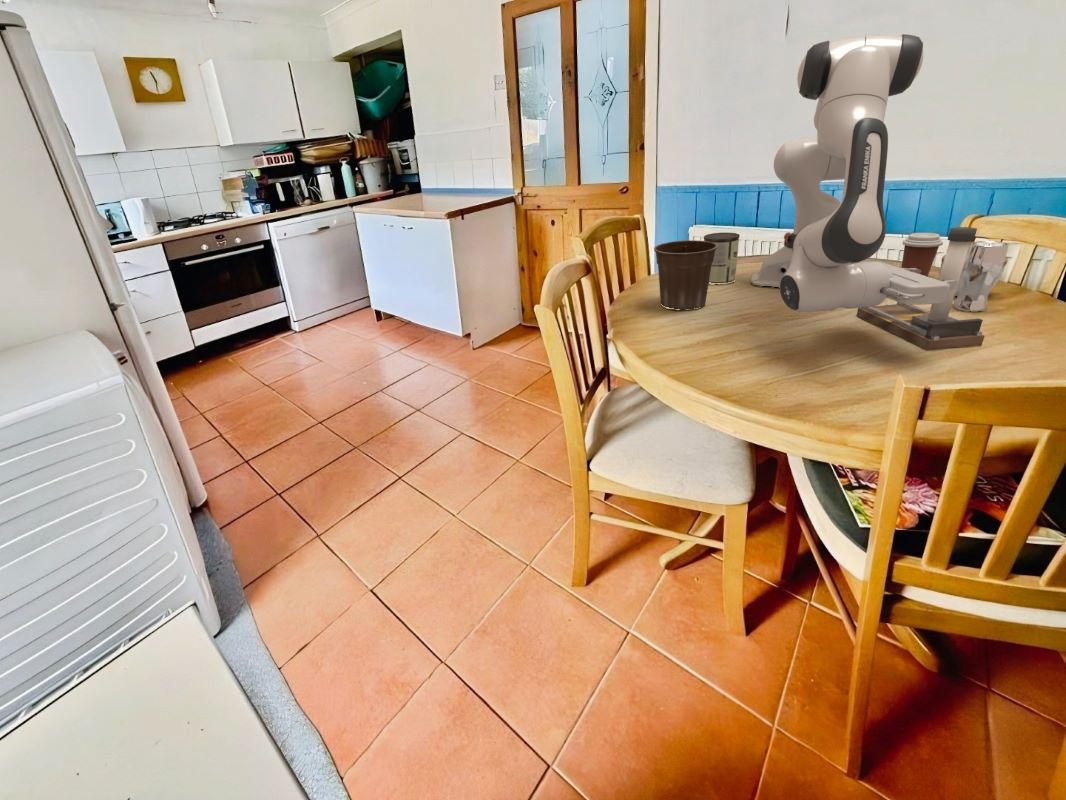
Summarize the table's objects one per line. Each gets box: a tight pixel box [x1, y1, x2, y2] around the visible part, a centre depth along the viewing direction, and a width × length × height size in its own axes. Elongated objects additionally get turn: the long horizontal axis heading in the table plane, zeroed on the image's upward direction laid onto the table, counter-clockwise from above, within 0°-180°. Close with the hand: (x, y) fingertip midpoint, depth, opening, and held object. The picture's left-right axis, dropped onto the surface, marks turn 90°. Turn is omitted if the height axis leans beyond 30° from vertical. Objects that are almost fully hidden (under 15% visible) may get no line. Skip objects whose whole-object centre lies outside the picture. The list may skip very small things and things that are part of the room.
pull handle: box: [911, 226, 978, 331], centre depth 100 cm, size 6×6×20 cm
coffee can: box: [703, 232, 740, 283], centre depth 156 cm, size 10×10×14 cm
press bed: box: [856, 301, 986, 351], centre depth 110 cm, size 23×11×5 cm, turn 2°
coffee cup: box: [900, 232, 944, 277], centre depth 142 cm, size 9×9×12 cm
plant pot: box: [653, 239, 718, 310], centre depth 137 cm, size 16×16×16 cm
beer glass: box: [952, 240, 1010, 313], centre depth 116 cm, size 7×7×15 cm
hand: (935, 278), depth 100 cm, fingers open, 8 cm apart
